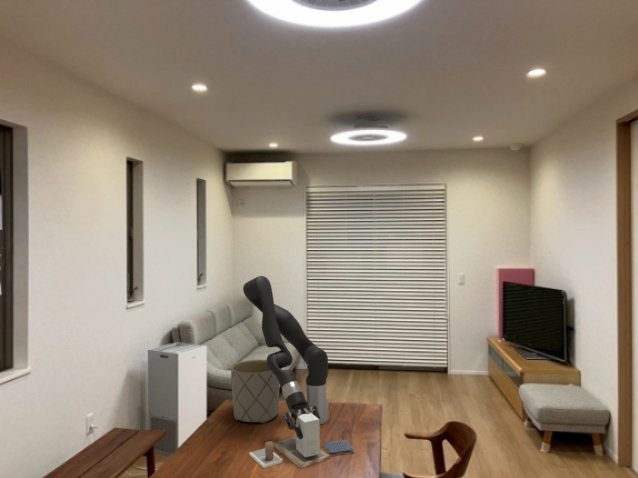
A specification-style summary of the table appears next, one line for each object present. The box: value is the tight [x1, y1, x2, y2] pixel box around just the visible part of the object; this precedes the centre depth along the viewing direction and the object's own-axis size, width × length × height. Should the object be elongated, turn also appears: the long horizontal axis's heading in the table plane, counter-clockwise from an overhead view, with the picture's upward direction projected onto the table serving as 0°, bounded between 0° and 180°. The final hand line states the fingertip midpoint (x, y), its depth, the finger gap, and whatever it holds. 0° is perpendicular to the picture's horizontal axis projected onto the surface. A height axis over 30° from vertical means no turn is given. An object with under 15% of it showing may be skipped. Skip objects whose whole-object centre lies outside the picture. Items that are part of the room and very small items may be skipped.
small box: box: [295, 413, 321, 457], centre depth 173 cm, size 8×6×13 cm
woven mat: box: [322, 439, 355, 457], centre depth 181 cm, size 10×11×2 cm
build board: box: [273, 436, 331, 469], centre depth 178 cm, size 13×21×1 cm, turn 33°
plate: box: [248, 440, 284, 469], centre depth 173 cm, size 8×12×7 cm, turn 33°
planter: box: [230, 359, 280, 424], centre depth 215 cm, size 23×23×24 cm
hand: (309, 435), depth 172 cm, fingers closed on small box, 6 cm apart
